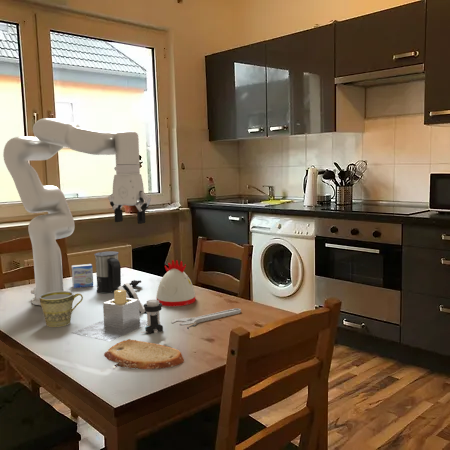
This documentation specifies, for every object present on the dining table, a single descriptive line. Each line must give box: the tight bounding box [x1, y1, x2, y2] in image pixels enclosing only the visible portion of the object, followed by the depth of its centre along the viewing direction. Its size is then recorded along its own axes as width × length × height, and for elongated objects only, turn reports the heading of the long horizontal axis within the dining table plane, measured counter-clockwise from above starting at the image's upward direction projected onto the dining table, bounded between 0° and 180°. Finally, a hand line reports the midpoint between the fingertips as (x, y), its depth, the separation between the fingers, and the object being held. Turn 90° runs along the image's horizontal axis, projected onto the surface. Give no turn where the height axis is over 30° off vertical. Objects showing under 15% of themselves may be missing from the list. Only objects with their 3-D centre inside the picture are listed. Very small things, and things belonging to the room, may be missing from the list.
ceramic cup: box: [39, 290, 84, 328], centre depth 160 cm, size 13×10×10 cm
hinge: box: [118, 282, 147, 314], centre depth 176 cm, size 17×5×10 cm, turn 22°
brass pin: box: [113, 290, 126, 304], centre depth 158 cm, size 4×4×10 cm
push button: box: [140, 299, 164, 335], centre depth 150 cm, size 7×5×10 cm
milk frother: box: [94, 251, 142, 294], centre depth 203 cm, size 14×16×15 cm
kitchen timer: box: [155, 259, 196, 307], centre depth 185 cm, size 14×14×15 cm
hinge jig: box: [71, 298, 147, 342], centre depth 155 cm, size 15×19×8 cm
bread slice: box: [103, 338, 185, 370], centre depth 133 cm, size 18×18×4 cm
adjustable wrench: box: [170, 307, 242, 329], centre depth 164 cm, size 25×6×2 cm, turn 121°
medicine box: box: [71, 263, 94, 289], centre depth 210 cm, size 8×4×9 cm, turn 111°
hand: (130, 222), depth 170 cm, fingers open, 9 cm apart
